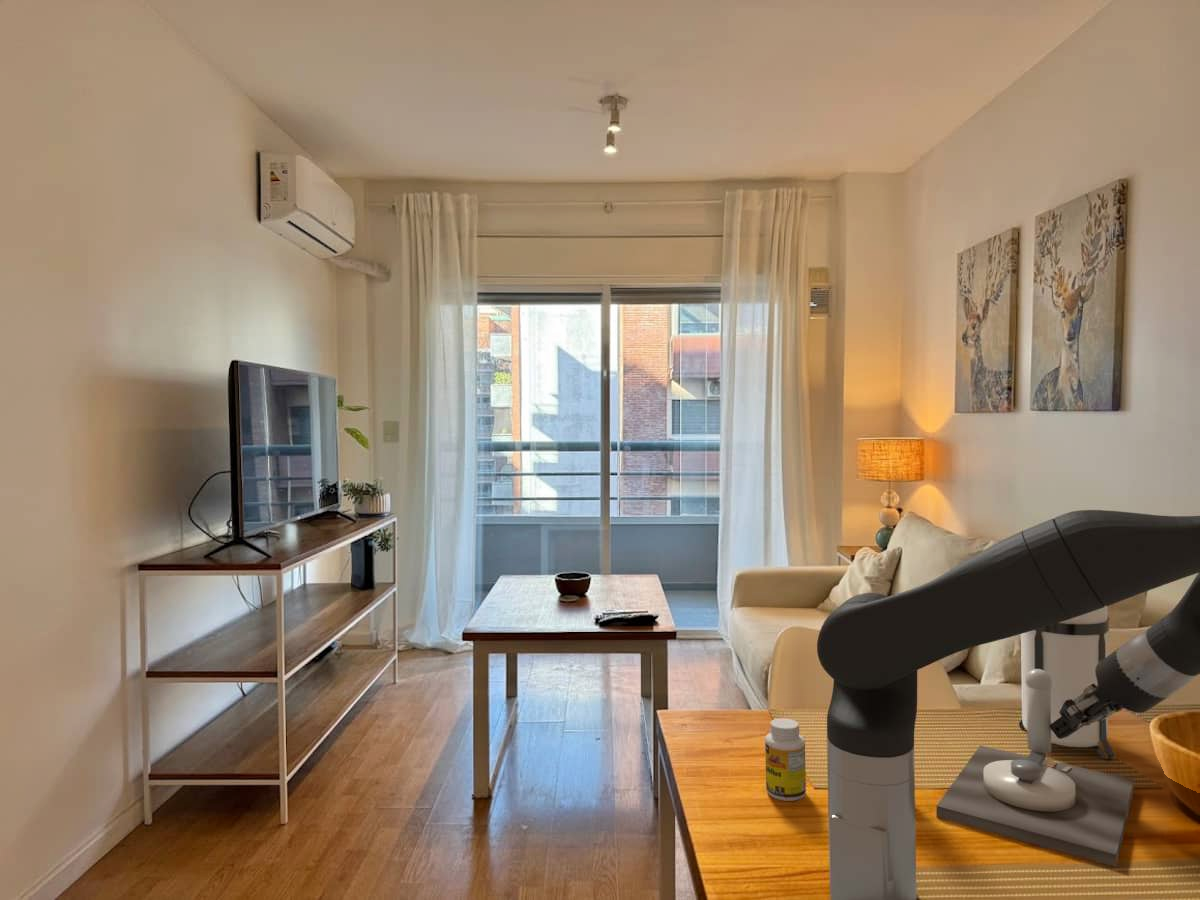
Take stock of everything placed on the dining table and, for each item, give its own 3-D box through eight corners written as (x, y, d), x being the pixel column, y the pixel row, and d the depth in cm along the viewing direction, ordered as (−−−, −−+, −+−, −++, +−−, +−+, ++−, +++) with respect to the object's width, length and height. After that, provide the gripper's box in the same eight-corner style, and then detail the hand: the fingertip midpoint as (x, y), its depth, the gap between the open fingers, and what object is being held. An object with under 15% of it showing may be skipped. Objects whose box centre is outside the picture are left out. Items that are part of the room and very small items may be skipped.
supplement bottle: (759, 788, 112) (757, 718, 112) (792, 782, 114) (791, 713, 114) (778, 805, 107) (777, 732, 107) (813, 799, 109) (812, 727, 108)
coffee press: (1146, 751, 121) (1145, 561, 120) (1075, 770, 115) (1073, 571, 115) (1046, 714, 137) (1044, 547, 137) (979, 729, 132) (977, 554, 131)
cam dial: (1068, 820, 98) (1067, 705, 98) (975, 796, 105) (973, 689, 104) (1085, 774, 110) (1084, 673, 110) (1000, 756, 117) (999, 660, 117)
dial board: (1116, 867, 90) (1116, 852, 90) (936, 816, 103) (936, 804, 103) (1134, 789, 109) (1133, 777, 109) (980, 754, 122) (980, 744, 121)
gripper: (1137, 705, 94) (1045, 767, 106) (1199, 686, 100) (1105, 746, 111) (1093, 652, 99) (1008, 716, 110) (1154, 636, 105) (1068, 699, 116)
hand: (1057, 731), depth 111 cm, fingers closed
